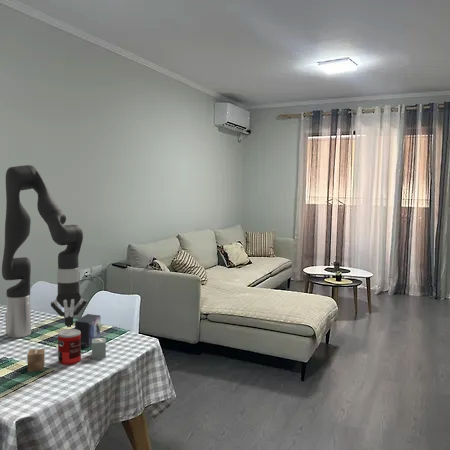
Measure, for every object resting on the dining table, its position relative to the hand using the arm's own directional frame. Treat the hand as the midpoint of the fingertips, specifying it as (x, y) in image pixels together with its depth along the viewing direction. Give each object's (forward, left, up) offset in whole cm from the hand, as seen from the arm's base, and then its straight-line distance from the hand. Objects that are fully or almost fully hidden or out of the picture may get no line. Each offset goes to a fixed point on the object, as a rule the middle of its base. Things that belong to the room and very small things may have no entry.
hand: (69, 326), depth 164 cm
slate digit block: (+6, +9, -13) cm, 17 cm away
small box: (-7, +18, -14) cm, 24 cm away
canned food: (0, 0, -14) cm, 14 cm away
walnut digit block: (-6, -10, -13) cm, 18 cm away
